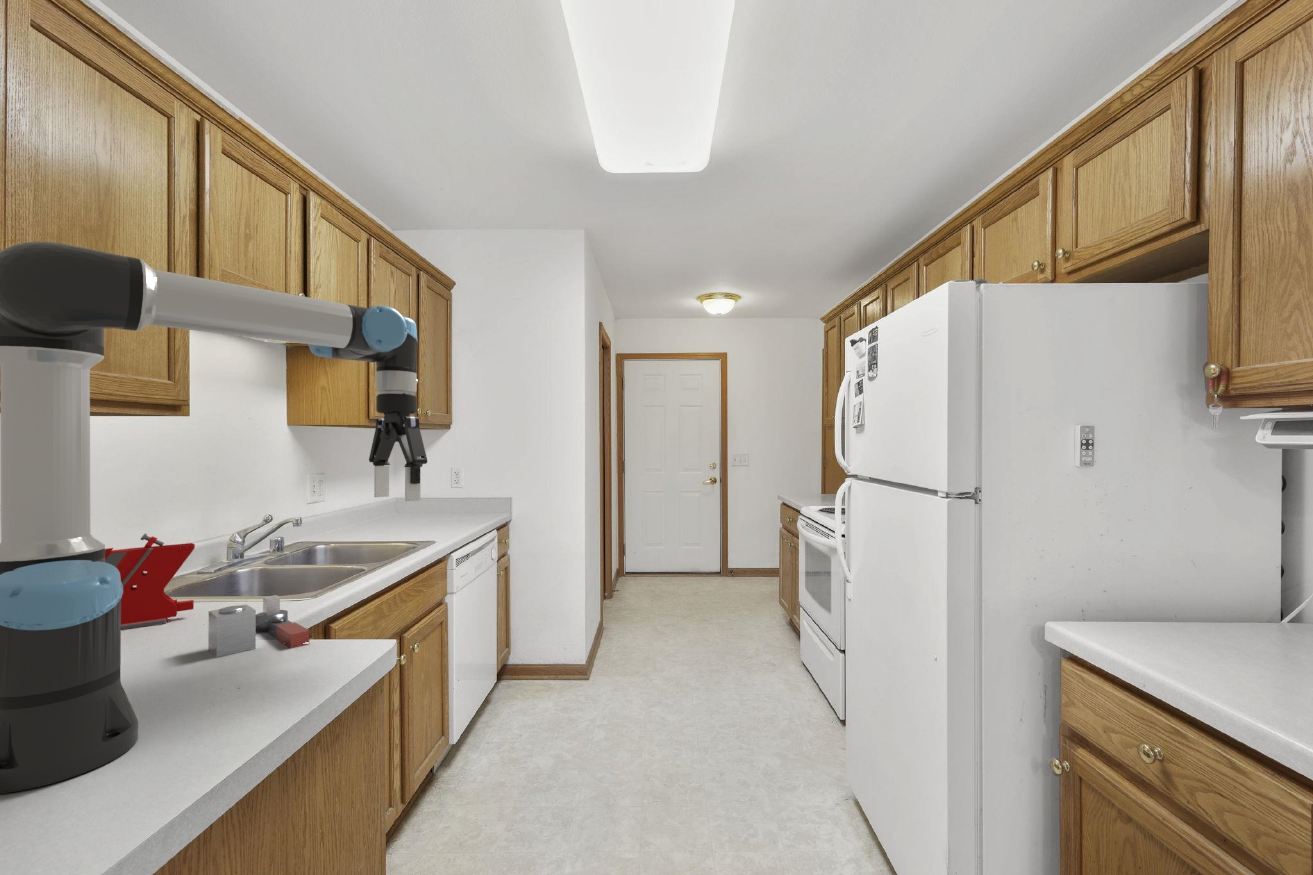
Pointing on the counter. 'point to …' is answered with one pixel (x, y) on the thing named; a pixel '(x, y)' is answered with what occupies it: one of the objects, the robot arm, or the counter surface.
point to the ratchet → (280, 624)
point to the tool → (148, 581)
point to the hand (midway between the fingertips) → (396, 499)
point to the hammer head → (232, 630)
